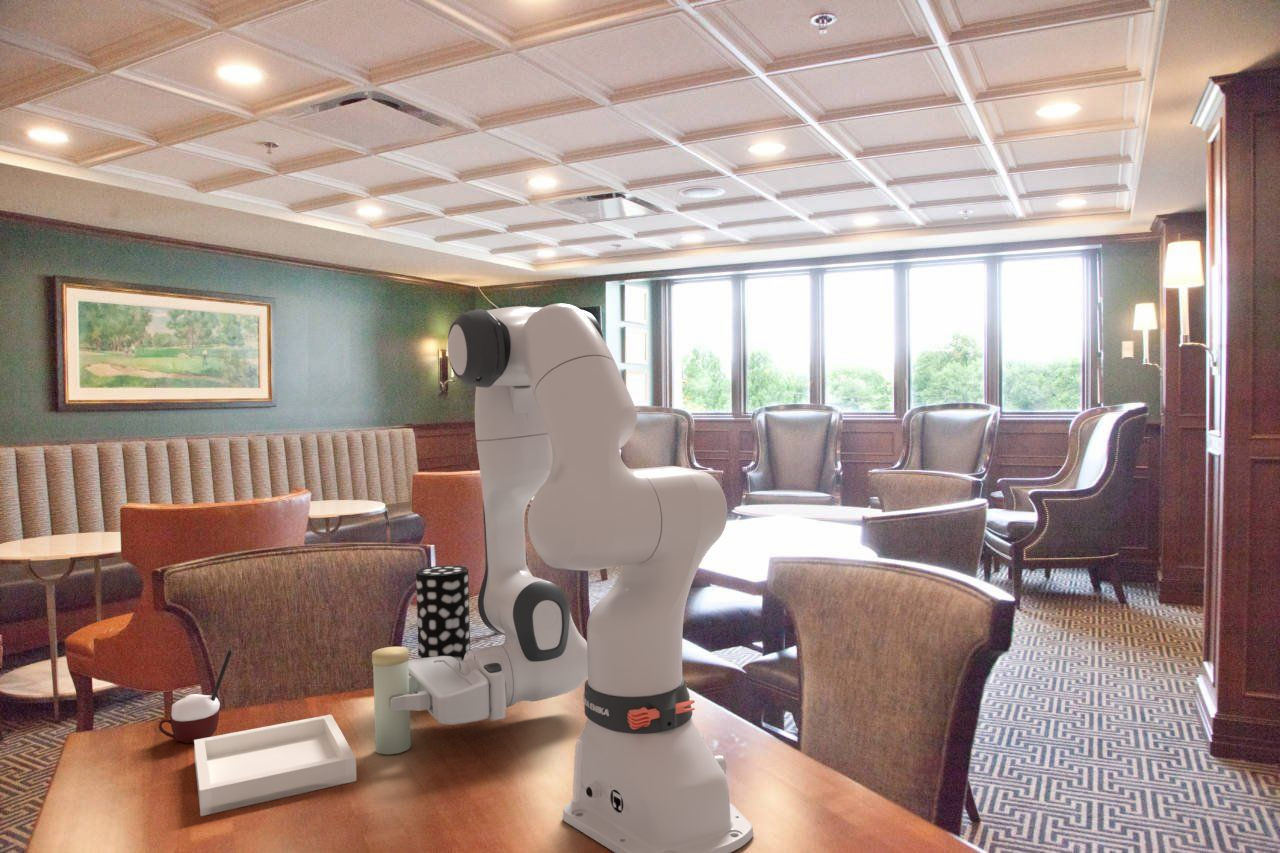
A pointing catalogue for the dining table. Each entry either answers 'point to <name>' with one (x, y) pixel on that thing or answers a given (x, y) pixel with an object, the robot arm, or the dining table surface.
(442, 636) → the spotted tube
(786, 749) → the dining table surface
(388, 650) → the tea tin
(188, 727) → the cocoa
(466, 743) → the dining table surface
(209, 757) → the dish
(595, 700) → the robot arm
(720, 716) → the dining table surface
